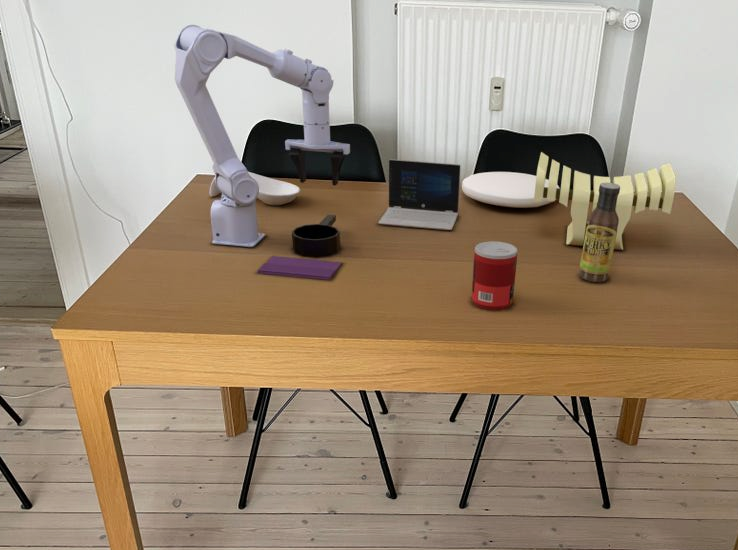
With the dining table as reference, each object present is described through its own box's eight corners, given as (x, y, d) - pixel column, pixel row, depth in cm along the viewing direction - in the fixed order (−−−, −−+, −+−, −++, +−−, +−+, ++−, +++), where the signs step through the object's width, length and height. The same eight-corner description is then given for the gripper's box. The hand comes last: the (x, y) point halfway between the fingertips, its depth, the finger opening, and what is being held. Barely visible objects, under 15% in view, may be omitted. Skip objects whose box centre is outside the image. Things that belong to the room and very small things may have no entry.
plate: (471, 164, 211) (563, 174, 207) (470, 187, 214) (560, 197, 210) (453, 179, 186) (558, 190, 182) (452, 205, 188) (555, 216, 184)
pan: (332, 259, 156) (331, 241, 154) (287, 255, 157) (286, 237, 155) (353, 232, 171) (352, 216, 169) (311, 228, 172) (310, 212, 170)
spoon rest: (306, 197, 193) (305, 170, 189) (291, 211, 183) (289, 182, 179) (222, 189, 196) (219, 163, 192) (202, 202, 186) (198, 174, 182)
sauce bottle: (575, 280, 151) (588, 185, 142) (582, 270, 156) (595, 178, 147) (605, 286, 149) (621, 190, 139) (612, 276, 154) (627, 183, 145)
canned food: (518, 308, 138) (523, 254, 133) (478, 312, 136) (482, 257, 130) (504, 292, 144) (509, 239, 139) (466, 295, 142) (469, 242, 137)
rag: (257, 273, 147) (257, 270, 147) (273, 257, 155) (272, 254, 155) (329, 280, 146) (329, 277, 146) (341, 263, 154) (341, 261, 153)
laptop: (377, 225, 176) (377, 171, 169) (388, 209, 187) (388, 158, 180) (451, 232, 174) (454, 178, 168) (458, 215, 185) (460, 164, 179)
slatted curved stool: (529, 245, 168) (537, 168, 160) (533, 223, 182) (541, 151, 173) (661, 258, 165) (677, 180, 156) (655, 235, 178) (669, 162, 170)
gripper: (352, 121, 165) (354, 180, 172) (290, 116, 166) (294, 175, 173) (344, 127, 159) (346, 189, 165) (280, 122, 160) (284, 183, 167)
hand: (319, 182), depth 169 cm, fingers open, 7 cm apart
